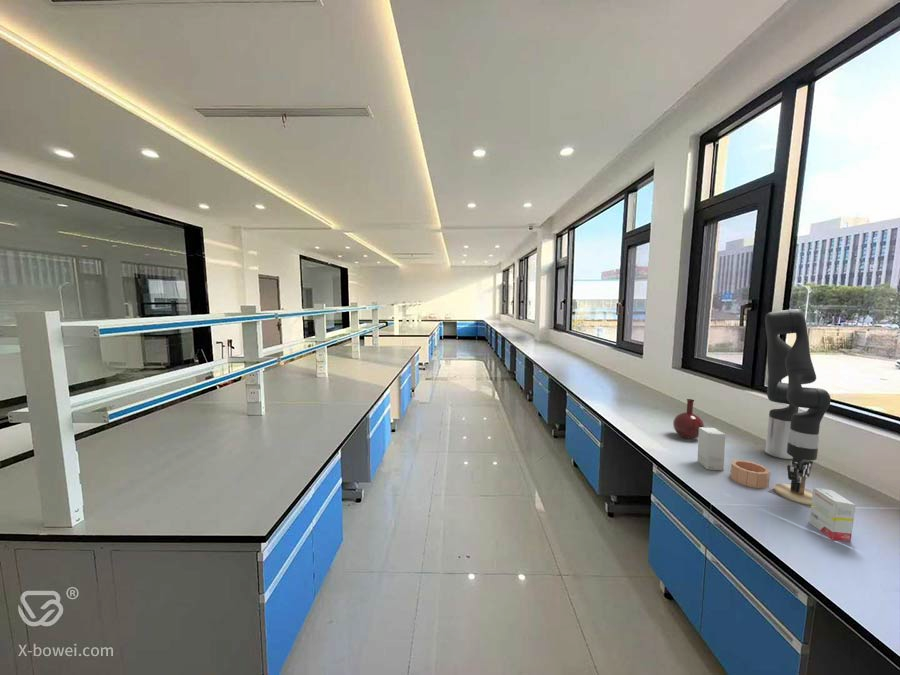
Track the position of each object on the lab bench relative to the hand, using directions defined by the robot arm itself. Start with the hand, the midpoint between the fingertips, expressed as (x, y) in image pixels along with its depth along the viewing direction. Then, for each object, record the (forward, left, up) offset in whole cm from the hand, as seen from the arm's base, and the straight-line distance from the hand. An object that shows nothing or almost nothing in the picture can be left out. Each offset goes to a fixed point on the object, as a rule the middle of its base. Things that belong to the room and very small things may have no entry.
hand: (797, 489), depth 123 cm
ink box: (+17, +13, -3) cm, 22 cm away
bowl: (+2, -13, -3) cm, 14 cm away
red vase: (-22, -49, -3) cm, 54 cm away
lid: (0, 0, -2) cm, 2 cm away
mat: (0, 0, -3) cm, 3 cm away
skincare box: (+2, -27, -3) cm, 27 cm away
